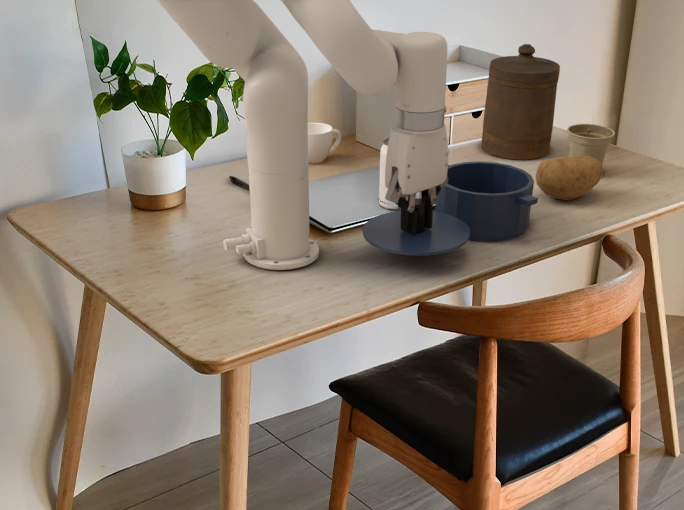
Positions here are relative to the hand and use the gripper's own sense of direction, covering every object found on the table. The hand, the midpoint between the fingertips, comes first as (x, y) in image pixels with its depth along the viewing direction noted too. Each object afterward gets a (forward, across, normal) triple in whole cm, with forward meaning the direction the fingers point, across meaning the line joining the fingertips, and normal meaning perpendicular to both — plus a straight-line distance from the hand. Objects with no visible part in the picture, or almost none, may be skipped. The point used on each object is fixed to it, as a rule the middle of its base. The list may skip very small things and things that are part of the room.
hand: (416, 228), depth 152 cm
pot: (+5, -19, -2) cm, 20 cm away
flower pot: (+6, -55, -7) cm, 56 cm away
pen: (+4, +5, -42) cm, 42 cm away
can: (+5, -13, -18) cm, 23 cm away
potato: (+6, -41, -1) cm, 41 cm away
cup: (+5, -17, -47) cm, 51 cm away
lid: (+1, 0, 0) cm, 1 cm away
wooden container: (+5, -55, -26) cm, 61 cm away
